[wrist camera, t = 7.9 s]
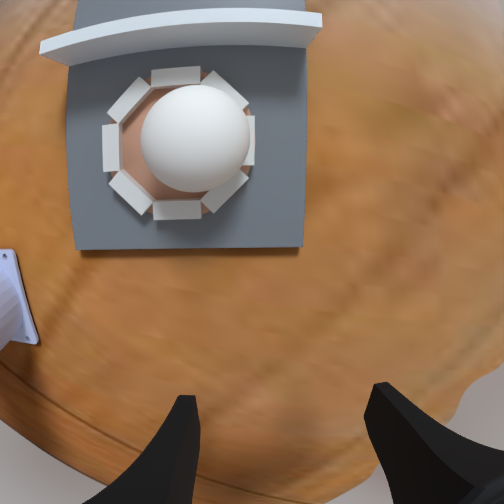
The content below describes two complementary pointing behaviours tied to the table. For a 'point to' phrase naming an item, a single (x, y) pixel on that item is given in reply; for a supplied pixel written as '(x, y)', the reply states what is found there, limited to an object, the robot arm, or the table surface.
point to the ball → (195, 138)
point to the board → (164, 81)
